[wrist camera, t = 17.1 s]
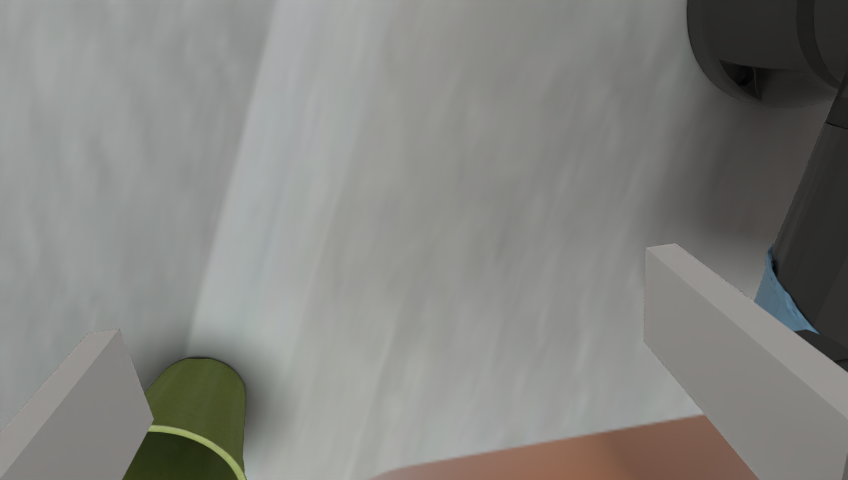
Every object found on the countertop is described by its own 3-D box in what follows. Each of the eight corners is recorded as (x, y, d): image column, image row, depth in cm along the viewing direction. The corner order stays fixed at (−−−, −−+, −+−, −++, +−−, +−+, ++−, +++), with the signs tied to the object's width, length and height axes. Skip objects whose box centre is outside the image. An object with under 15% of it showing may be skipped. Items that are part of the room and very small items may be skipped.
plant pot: (113, 427, 48) (42, 540, 38) (151, 312, 45) (84, 402, 34) (249, 464, 51) (218, 580, 41) (295, 359, 47) (274, 456, 37)
